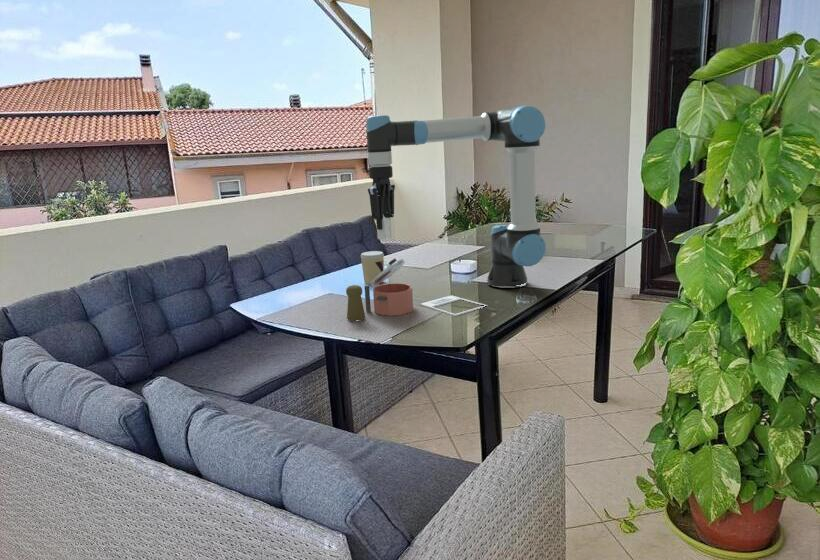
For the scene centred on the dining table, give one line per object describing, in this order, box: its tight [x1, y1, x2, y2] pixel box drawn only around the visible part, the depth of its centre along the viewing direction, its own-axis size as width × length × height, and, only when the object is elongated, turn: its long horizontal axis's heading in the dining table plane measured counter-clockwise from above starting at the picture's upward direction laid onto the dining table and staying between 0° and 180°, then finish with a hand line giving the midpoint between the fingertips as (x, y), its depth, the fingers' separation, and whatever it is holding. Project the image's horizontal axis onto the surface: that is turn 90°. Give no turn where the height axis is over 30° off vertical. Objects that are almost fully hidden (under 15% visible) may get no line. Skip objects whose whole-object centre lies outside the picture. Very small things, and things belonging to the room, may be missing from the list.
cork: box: [345, 284, 366, 322], centre depth 185 cm, size 6×6×11 cm
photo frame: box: [419, 294, 488, 317], centre depth 195 cm, size 15×1×18 cm
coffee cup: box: [360, 250, 385, 285], centre depth 231 cm, size 9×9×12 cm
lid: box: [369, 258, 405, 288], centre depth 191 cm, size 14×14×2 cm
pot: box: [364, 281, 414, 317], centre depth 193 cm, size 14×16×9 cm
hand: (384, 238), depth 188 cm, fingers open, 3 cm apart
